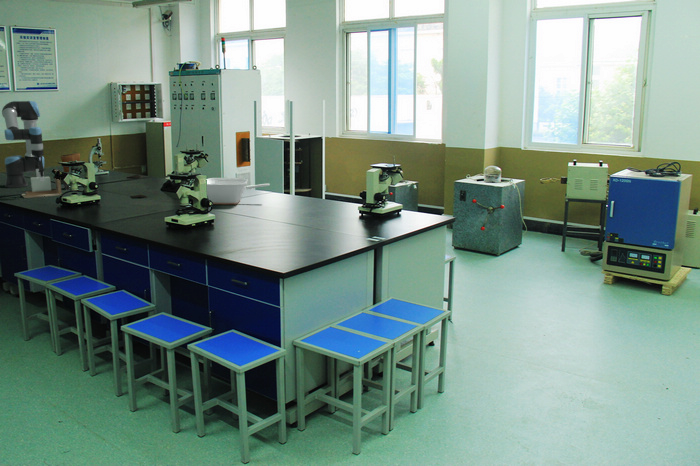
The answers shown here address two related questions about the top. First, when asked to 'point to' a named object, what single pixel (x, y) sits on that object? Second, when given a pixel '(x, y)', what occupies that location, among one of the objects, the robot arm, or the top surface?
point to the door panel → (40, 184)
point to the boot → (66, 159)
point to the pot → (227, 189)
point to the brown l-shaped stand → (45, 193)
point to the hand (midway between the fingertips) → (40, 179)
